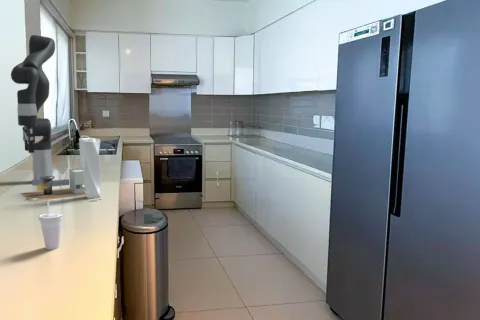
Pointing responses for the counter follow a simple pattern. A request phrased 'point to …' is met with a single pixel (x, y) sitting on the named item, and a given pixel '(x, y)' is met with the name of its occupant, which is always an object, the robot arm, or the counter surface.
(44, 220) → the smoothie
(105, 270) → the counter surface
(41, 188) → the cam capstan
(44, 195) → the walnut board
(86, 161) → the skyscraper
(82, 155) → the cylindrical container
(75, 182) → the stand
